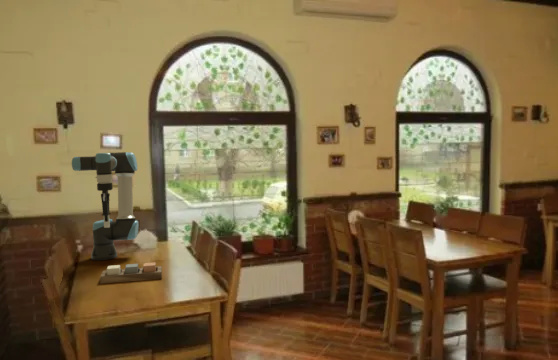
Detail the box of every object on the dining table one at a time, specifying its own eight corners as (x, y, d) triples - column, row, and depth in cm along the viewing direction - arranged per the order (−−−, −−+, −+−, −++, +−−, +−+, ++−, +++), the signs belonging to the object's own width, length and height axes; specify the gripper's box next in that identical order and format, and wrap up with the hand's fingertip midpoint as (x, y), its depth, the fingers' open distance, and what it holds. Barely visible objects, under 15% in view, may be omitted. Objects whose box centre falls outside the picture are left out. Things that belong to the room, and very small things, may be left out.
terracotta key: (144, 271, 256) (143, 263, 256) (155, 270, 258) (155, 262, 257) (143, 274, 250) (143, 266, 250) (155, 273, 252) (155, 265, 251)
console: (103, 276, 255) (103, 270, 254) (161, 272, 261) (161, 265, 261) (100, 283, 243) (100, 276, 243) (161, 278, 250) (161, 271, 249)
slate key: (126, 272, 254) (126, 264, 254) (138, 271, 256) (138, 263, 255) (125, 276, 248) (125, 267, 248) (137, 275, 250) (137, 266, 249)
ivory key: (108, 274, 252) (108, 265, 252) (120, 273, 254) (120, 265, 253) (107, 277, 246) (106, 268, 246) (119, 276, 248) (119, 267, 247)
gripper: (98, 181, 256) (101, 225, 258) (95, 184, 244) (97, 230, 246) (113, 181, 258) (115, 224, 260) (110, 183, 245) (113, 229, 247)
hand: (106, 227), depth 253 cm, fingers closed
